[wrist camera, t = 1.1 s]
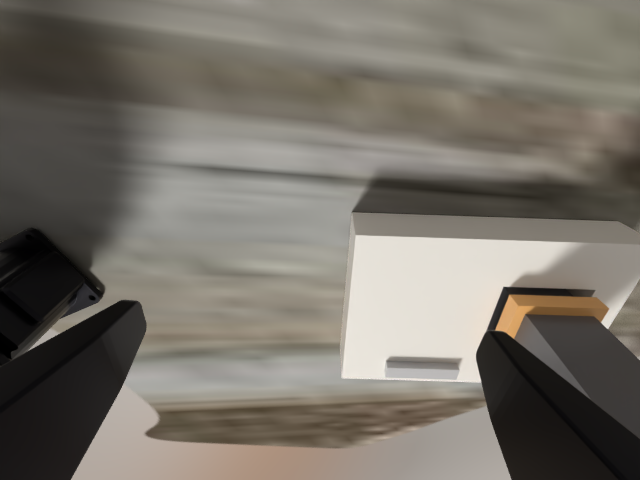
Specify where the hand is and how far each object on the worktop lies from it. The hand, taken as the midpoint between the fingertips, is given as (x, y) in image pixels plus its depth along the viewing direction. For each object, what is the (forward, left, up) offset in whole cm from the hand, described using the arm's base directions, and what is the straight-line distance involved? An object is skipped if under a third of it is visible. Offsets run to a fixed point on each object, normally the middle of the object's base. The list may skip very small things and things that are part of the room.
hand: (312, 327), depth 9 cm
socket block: (+5, -12, -13) cm, 18 cm away
